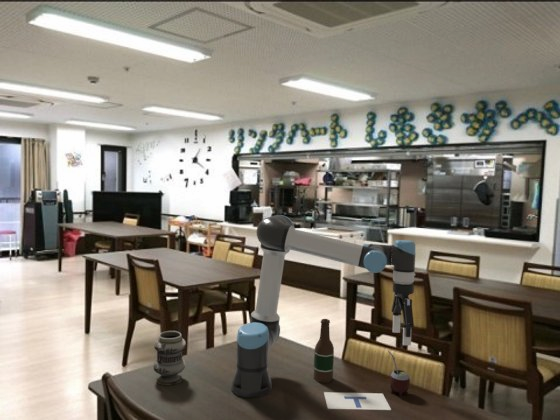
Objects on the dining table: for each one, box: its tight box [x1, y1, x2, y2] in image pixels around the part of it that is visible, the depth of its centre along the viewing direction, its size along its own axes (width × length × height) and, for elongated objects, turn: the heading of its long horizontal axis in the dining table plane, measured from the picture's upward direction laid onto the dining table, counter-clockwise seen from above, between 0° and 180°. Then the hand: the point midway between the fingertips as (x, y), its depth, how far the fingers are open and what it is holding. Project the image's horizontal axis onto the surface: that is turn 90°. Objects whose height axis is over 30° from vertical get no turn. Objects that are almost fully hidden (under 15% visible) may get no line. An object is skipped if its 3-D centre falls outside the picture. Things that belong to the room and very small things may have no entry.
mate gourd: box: [387, 349, 411, 398], centre depth 170 cm, size 8×8×15 cm
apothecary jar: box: [152, 330, 187, 386], centre depth 175 cm, size 12×12×18 cm
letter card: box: [323, 391, 392, 411], centre depth 163 cm, size 22×12×1 cm, turn 91°
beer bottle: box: [313, 318, 335, 384], centre depth 180 cm, size 8×8×24 cm
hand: (401, 338), depth 169 cm, fingers open, 13 cm apart
